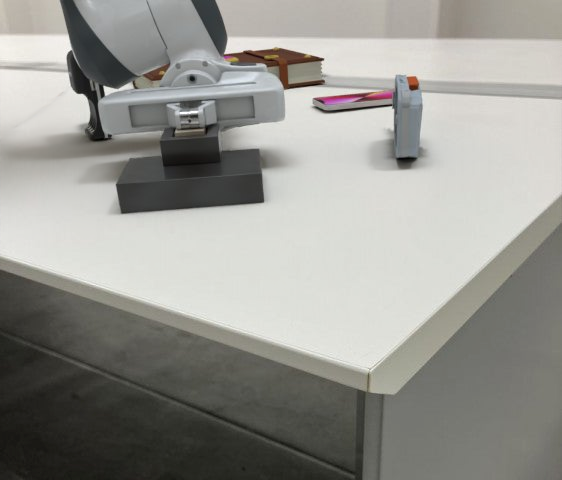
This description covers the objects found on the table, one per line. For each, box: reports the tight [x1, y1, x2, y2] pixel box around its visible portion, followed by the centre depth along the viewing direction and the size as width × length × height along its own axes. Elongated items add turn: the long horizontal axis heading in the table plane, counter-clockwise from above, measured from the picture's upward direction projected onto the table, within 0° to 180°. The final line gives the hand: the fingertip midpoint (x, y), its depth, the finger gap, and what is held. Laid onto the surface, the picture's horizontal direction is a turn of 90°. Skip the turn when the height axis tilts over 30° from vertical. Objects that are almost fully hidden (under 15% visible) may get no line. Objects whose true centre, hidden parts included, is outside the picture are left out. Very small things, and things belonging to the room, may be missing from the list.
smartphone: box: [312, 89, 395, 111], centre depth 106 cm, size 7×1×15 cm
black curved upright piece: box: [65, 49, 113, 140], centre depth 95 cm, size 7×4×11 cm, turn 22°
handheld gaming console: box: [391, 74, 424, 160], centre depth 77 cm, size 14×3×8 cm, turn 174°
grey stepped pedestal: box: [115, 124, 265, 214], centre depth 70 cm, size 14×11×6 cm
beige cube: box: [175, 128, 206, 137], centre depth 71 cm, size 3×3×3 cm
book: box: [131, 46, 326, 90], centre depth 128 cm, size 23×32×5 cm
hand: (189, 120), depth 69 cm, fingers closed, pressing on beige cube
